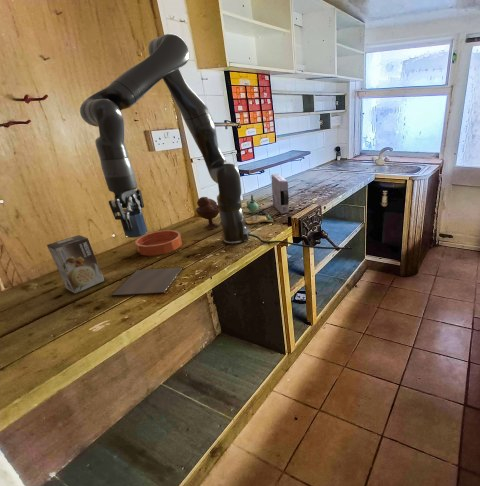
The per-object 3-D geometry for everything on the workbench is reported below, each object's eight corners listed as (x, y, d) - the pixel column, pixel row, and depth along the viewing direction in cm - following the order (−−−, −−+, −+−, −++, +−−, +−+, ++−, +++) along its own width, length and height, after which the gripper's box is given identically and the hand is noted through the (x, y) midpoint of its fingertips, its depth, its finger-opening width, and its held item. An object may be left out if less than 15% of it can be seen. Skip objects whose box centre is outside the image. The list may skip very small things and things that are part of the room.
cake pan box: (290, 213, 166) (288, 180, 158) (281, 214, 164) (278, 181, 157) (281, 203, 182) (278, 173, 174) (272, 205, 180) (269, 174, 173)
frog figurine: (266, 227, 148) (260, 197, 142) (236, 226, 155) (229, 197, 150) (277, 220, 156) (271, 191, 150) (248, 220, 163) (241, 192, 157)
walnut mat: (182, 268, 112) (182, 267, 112) (164, 293, 98) (164, 292, 98) (137, 271, 112) (137, 269, 111) (112, 296, 97) (111, 294, 97)
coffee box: (96, 276, 109) (80, 234, 102) (105, 281, 106) (89, 237, 99) (65, 288, 102) (46, 244, 95) (74, 294, 99) (54, 248, 92)
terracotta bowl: (187, 238, 138) (185, 229, 136) (173, 255, 123) (170, 245, 121) (149, 240, 137) (146, 231, 135) (130, 257, 122) (127, 247, 120)
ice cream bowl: (216, 231, 145) (210, 200, 139) (195, 230, 147) (188, 199, 141) (227, 223, 154) (222, 193, 148) (207, 222, 156) (201, 193, 150)
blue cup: (151, 230, 103) (145, 210, 100) (142, 237, 97) (135, 216, 94) (132, 231, 102) (125, 210, 99) (121, 238, 97) (114, 217, 94)
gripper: (118, 178, 85) (135, 234, 92) (143, 168, 98) (156, 218, 105) (90, 179, 85) (109, 236, 92) (119, 169, 98) (134, 219, 105)
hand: (134, 226), depth 99 cm, fingers closed on blue cup, 6 cm apart
